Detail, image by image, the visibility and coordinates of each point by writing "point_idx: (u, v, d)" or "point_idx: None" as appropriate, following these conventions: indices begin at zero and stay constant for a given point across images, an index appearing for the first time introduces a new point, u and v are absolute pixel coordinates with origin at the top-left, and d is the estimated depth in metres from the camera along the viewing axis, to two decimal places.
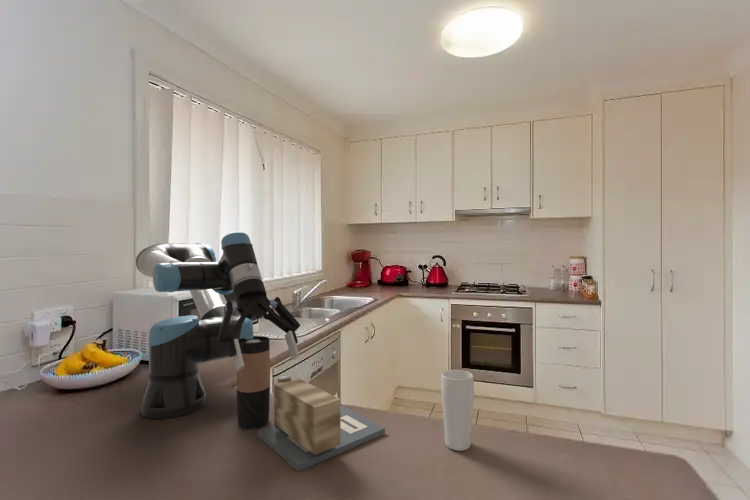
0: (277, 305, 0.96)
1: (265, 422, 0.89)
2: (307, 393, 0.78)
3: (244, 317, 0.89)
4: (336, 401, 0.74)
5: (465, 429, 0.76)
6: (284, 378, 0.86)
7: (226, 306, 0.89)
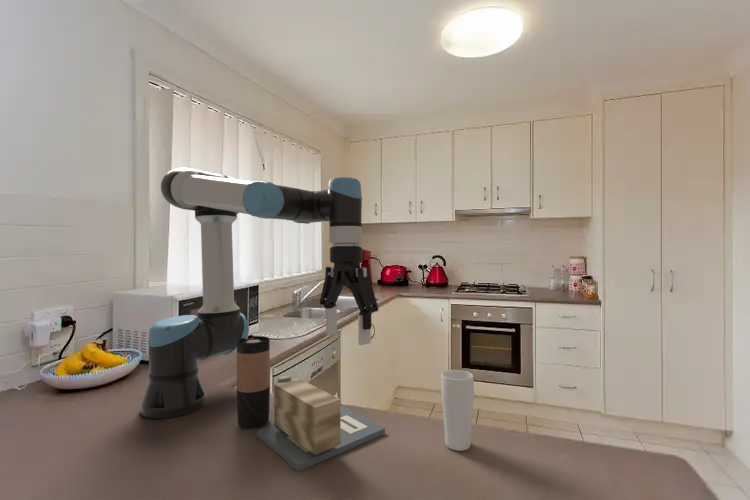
0: None
1: (265, 422, 0.89)
2: (307, 393, 0.78)
3: None
4: (336, 401, 0.74)
5: (465, 429, 0.76)
6: (284, 378, 0.86)
7: (367, 272, 0.82)
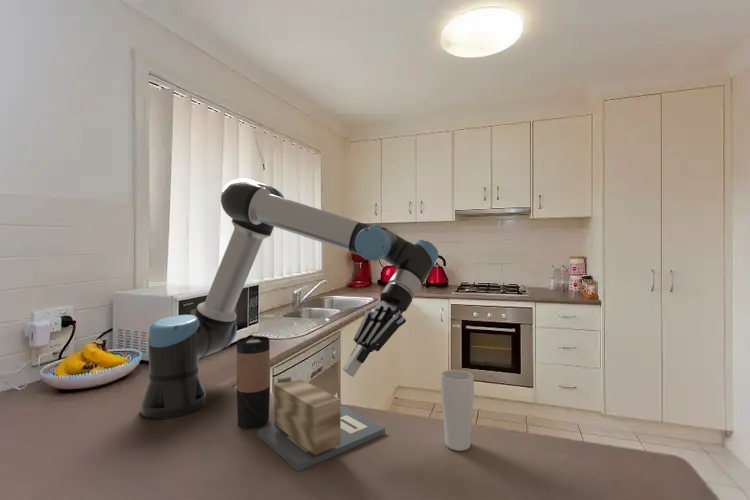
0: None
1: (265, 422, 0.89)
2: (307, 393, 0.78)
3: None
4: (336, 401, 0.74)
5: (465, 429, 0.76)
6: (284, 378, 0.86)
7: (401, 322, 0.86)
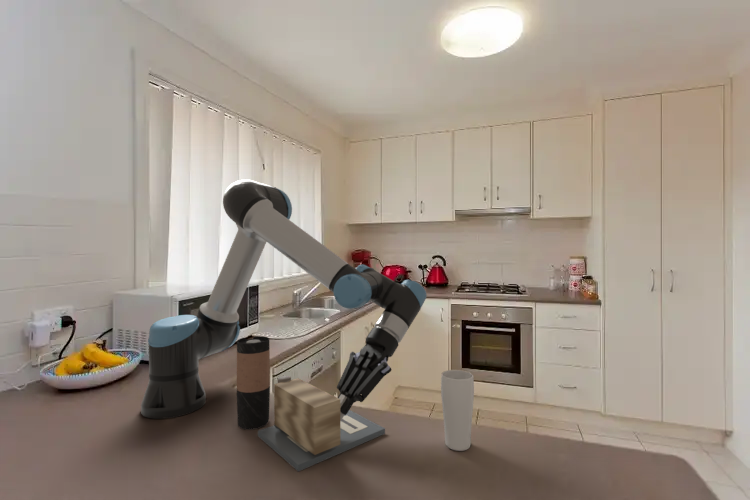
0: None
1: (265, 422, 0.89)
2: (307, 393, 0.78)
3: None
4: (336, 401, 0.74)
5: (465, 429, 0.76)
6: (284, 378, 0.86)
7: (386, 371, 0.83)
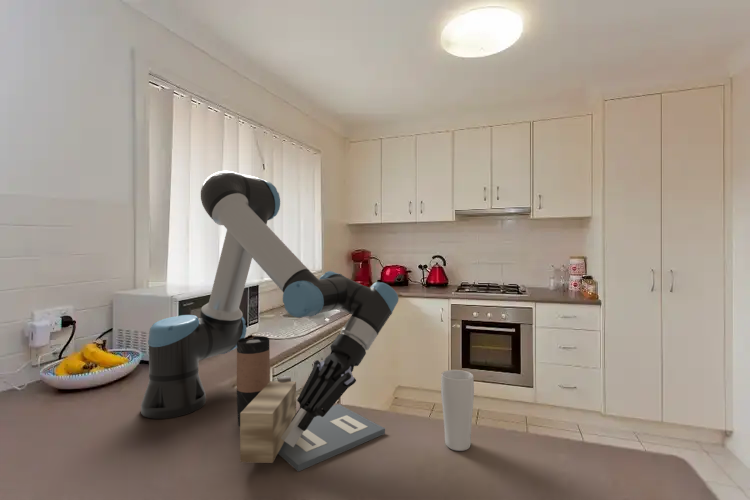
0: None
1: None
2: (266, 398, 0.76)
3: None
4: (267, 414, 0.69)
5: (465, 429, 0.76)
6: (283, 378, 0.86)
7: (350, 383, 0.76)
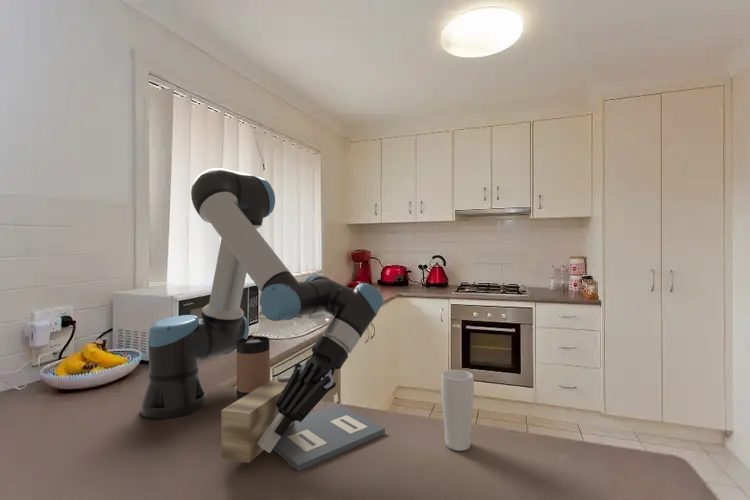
0: None
1: None
2: (255, 397, 0.76)
3: None
4: (244, 414, 0.69)
5: (465, 429, 0.76)
6: (282, 378, 0.86)
7: (329, 387, 0.74)
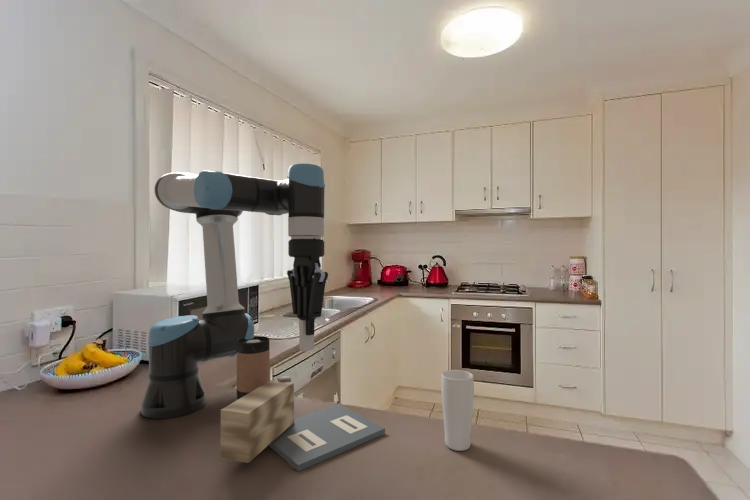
0: None
1: None
2: (254, 397, 0.76)
3: None
4: (243, 414, 0.69)
5: (465, 429, 0.76)
6: (282, 378, 0.86)
7: (324, 279, 0.75)
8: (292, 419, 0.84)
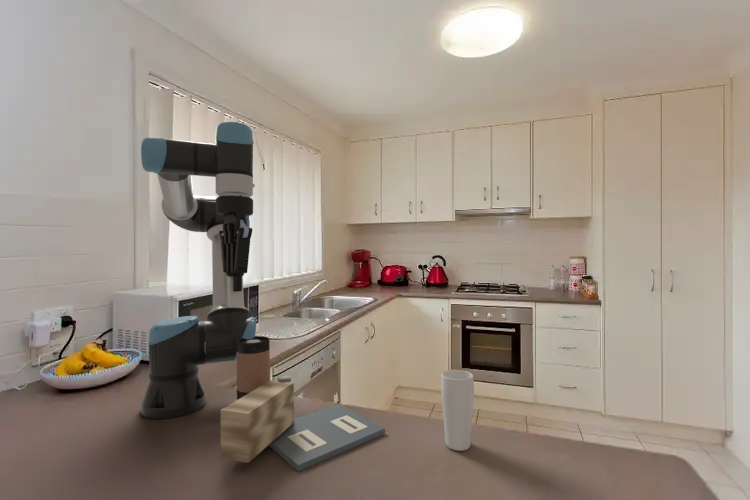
0: None
1: None
2: (254, 397, 0.76)
3: None
4: (243, 414, 0.69)
5: (465, 429, 0.76)
6: (282, 378, 0.86)
7: (248, 234, 0.76)
8: (292, 419, 0.84)
